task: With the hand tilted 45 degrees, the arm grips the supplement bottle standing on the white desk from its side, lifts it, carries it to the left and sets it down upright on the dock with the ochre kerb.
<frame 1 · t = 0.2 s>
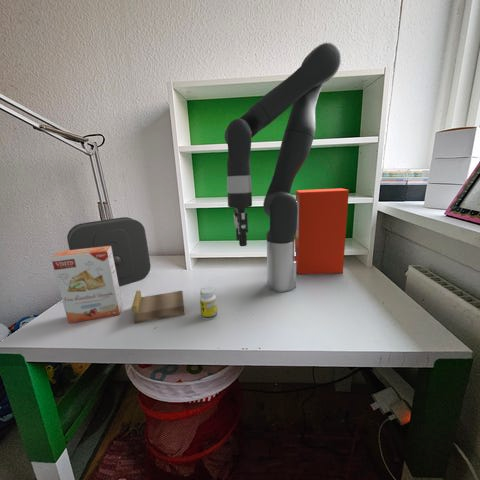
hand: (241, 242, 80), 18 cm above the table, tool pointing down, fingers open, 8 cm apart
file binder: (317, 270, 101), on the table
supplement bottle: (209, 316, 73), on the table
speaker: (118, 284, 97), on the table
cracker box: (97, 315, 76), on the table
dock: (161, 310, 77), on the table
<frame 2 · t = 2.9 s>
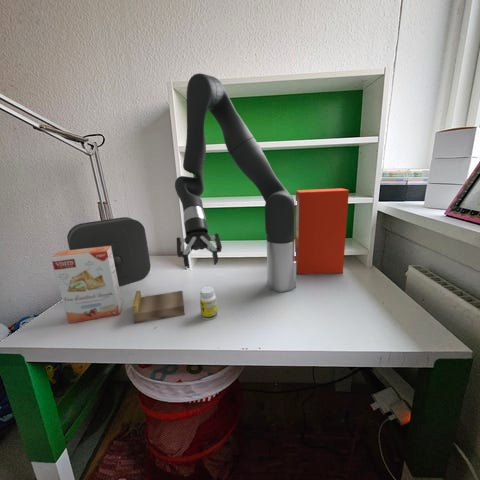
hand: (202, 265, 78), 12 cm above the table, tool tilted 45°, fingers open, 8 cm apart
nothing on the table moved.
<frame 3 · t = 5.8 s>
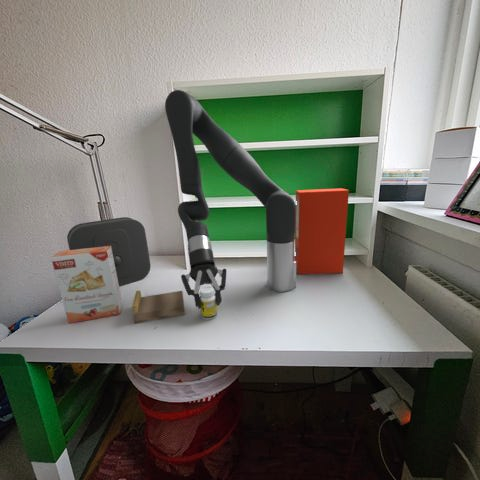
hand: (209, 306, 70), 4 cm above the table, tool tilted 45°, fingers closed on supplement bottle, 4 cm apart
supplement bottle: (209, 316, 73), on the table, touching gripper
everything else where it was.
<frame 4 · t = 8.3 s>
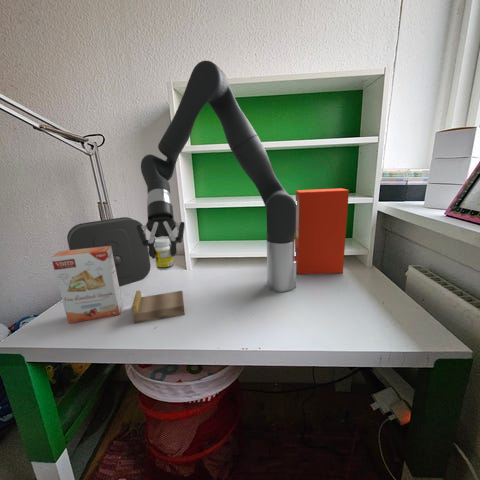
hand: (163, 256, 69), 19 cm above the table, tool tilted 45°, fingers closed on supplement bottle, 4 cm apart
supplement bottle: (165, 268, 72), point 14 cm above the table, touching gripper
everything else where it was.
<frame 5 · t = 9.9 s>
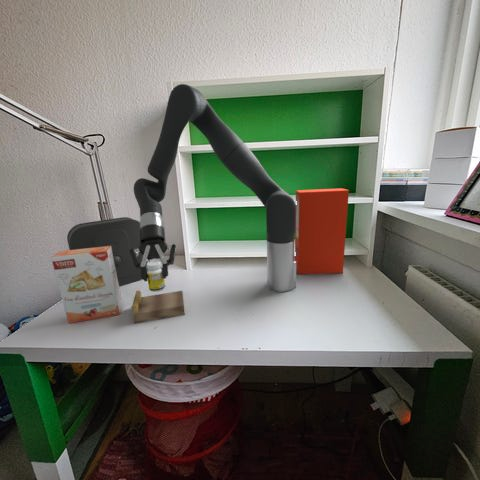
hand: (155, 278, 72), 11 cm above the table, tool tilted 45°, fingers closed on supplement bottle, 4 cm apart
supplement bottle: (157, 289, 75), point 7 cm above the table, touching gripper
everything else where it was.
when the fingers open (8 cm above the table, at t = 11.0 s): supplement bottle stays where it is, resting on dock.
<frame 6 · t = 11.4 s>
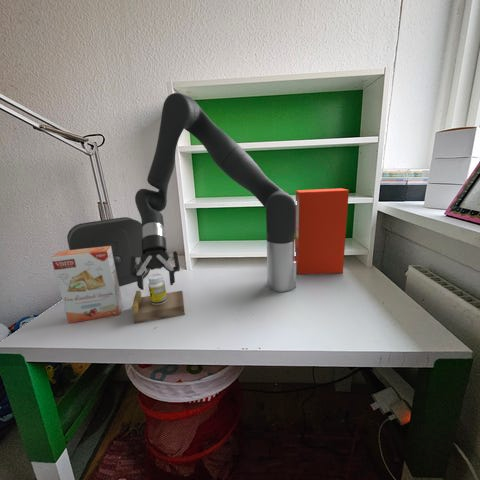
hand: (156, 286, 74), 9 cm above the table, tool tilted 45°, fingers open, 8 cm apart
supplement bottle: (159, 301, 77), point 3 cm above the table, touching dock
everything else where it was.
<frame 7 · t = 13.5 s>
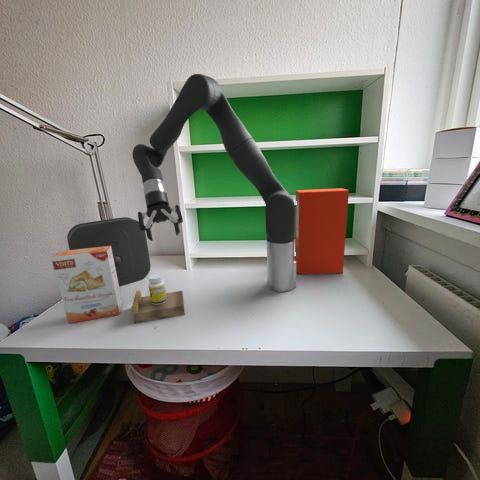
hand: (164, 237, 83), 20 cm above the table, tool tilted 35°, fingers open, 8 cm apart
nothing on the table moved.
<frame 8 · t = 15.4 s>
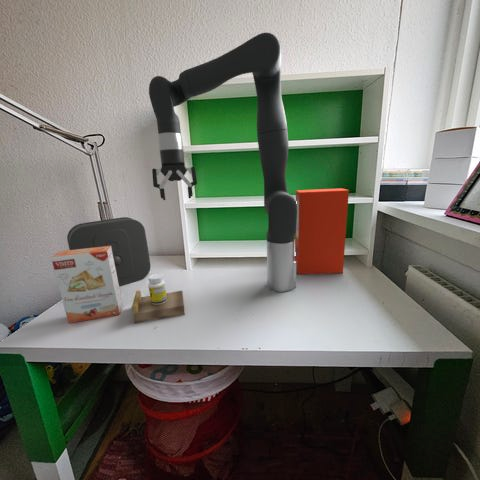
hand: (177, 199, 86), 32 cm above the table, tool pointing down, fingers open, 8 cm apart
nothing on the table moved.
at the end: supplement bottle inside the target area on the dock (0.1 cm from its centre), point 2.8 cm above the dock's base; supplement bottle tilted 0°; the gripper is holding nothing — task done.
